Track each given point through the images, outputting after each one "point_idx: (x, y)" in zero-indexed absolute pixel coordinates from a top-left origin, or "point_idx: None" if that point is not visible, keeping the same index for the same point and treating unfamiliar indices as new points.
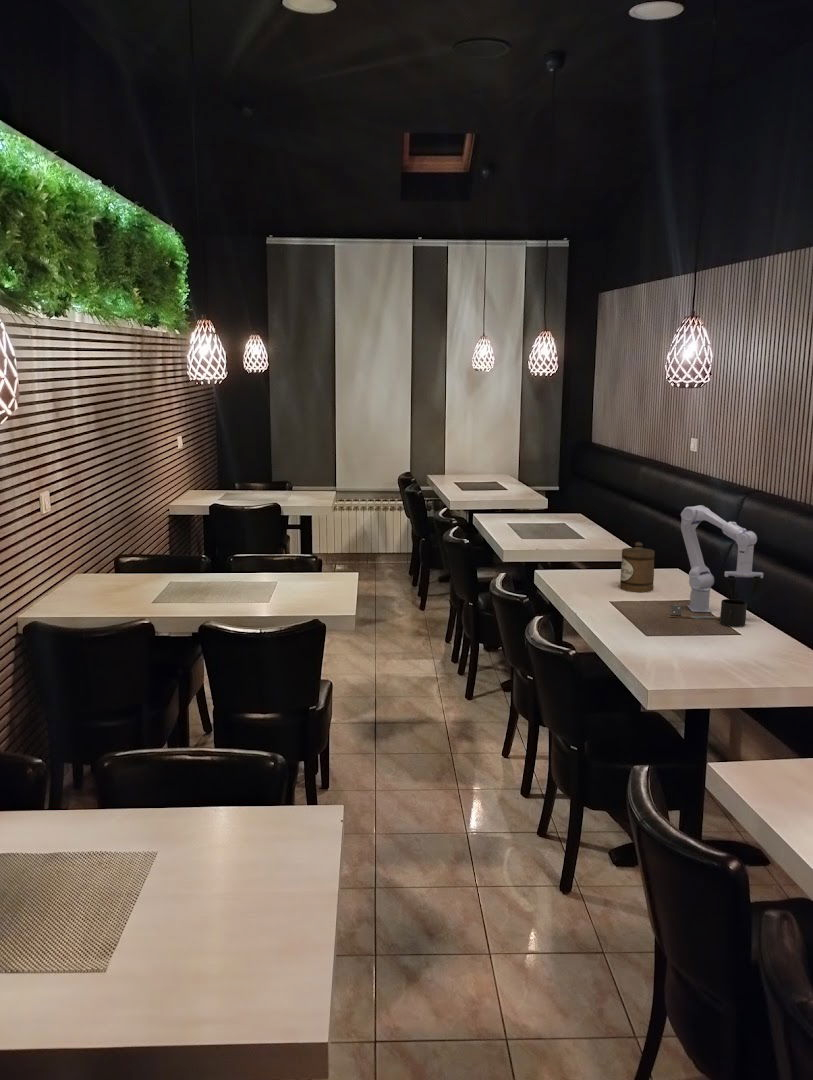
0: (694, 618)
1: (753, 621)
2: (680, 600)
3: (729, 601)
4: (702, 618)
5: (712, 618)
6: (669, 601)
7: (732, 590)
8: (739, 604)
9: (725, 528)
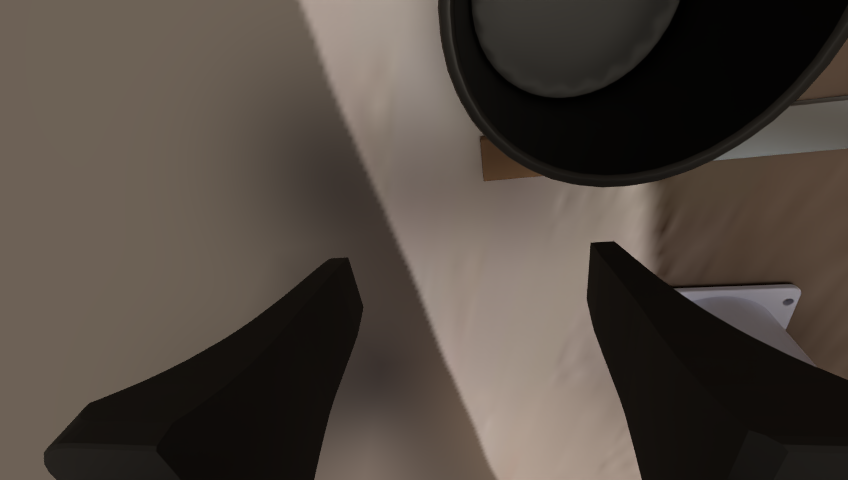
0: None
1: (379, 132)
2: None
3: (640, 158)
4: (818, 101)
5: None
6: None
7: (648, 270)
8: (512, 126)
9: None
